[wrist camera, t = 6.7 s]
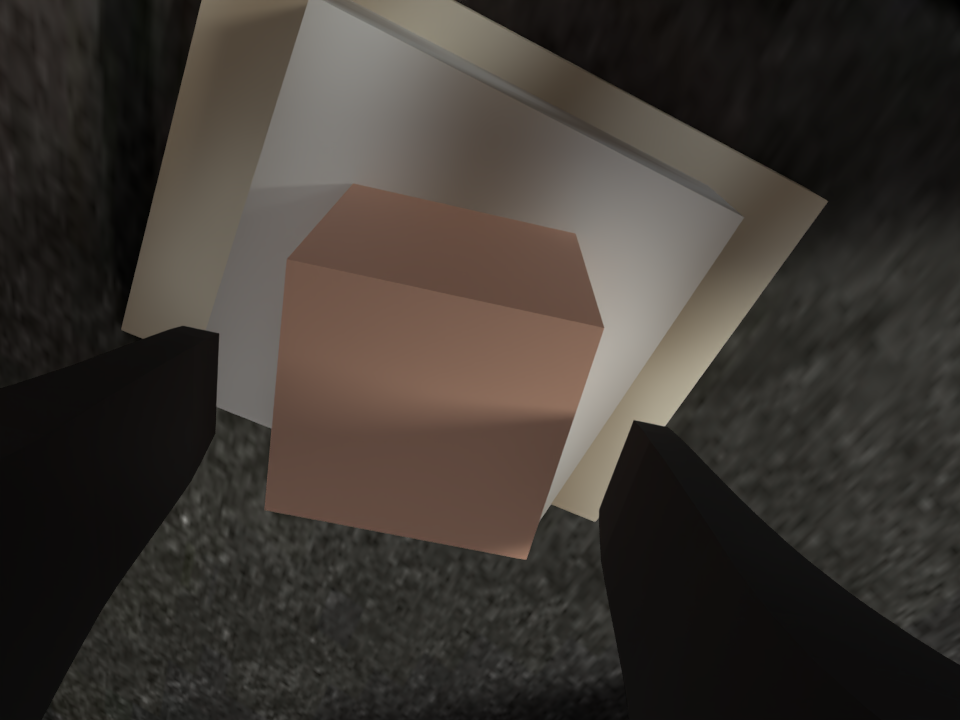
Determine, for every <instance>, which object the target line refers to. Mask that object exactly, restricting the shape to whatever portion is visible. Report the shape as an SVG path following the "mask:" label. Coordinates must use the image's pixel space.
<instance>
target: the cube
mask: <svg viewBox="0 0 960 720" xmlns="http://www.w3.org/2000/svg"><path fill="white" fill-rule="evenodd" d="M603 330H604V325H603V322H602V319H601V315H600V312H599V309H598V306H597V302H596V299H595V296H594V292H593V289H592V286H591V283H590V279H589V276H588V273H587V269H586V266H585V263H584V260H583V256H582V253H581V250H580V246H579V243H578V240H577V237H576V234H575V233H571V232H566V231H562V230H558V229H553V228H549V227H544V226H540V225H535V224H531V223H527V222H522V221H518V220H513V219H509V218H504V217H500V216H496V215H491V214H487V213H482V212H478V211H473V210H469V209H465V208H460V207H456V206H451V205H447V204H442V203H438V202H434V201H429V200H425V199H420V198H416V197H411V196H407V195H403V194H398V193H394V192H389V191H385V190H380V189H376V188H372V187H367V186H363V185H358V184H354V183H353V184H352V185H351V186H350V188H349V189H348V190H347V191H346V192H345V193H344V194H343V196H342V197H341V198H340V199H339V200H338V201H337V202H336V204H335V205H334V206H333V207H332V208H331V209H330V210H329V212H328V213H327V214H326V215H325V216H324V217H323V218H322V220H321V221H320V222H319V223H318V224H317V225H316V226H315V227H314V229H313V230H312V231H311V232H310V233H309V234H308V235H307V237H306V238H305V239H304V240H303V241H302V242H301V243H300V245H299V246H298V247H297V248H296V249H295V250H294V251H293V253H292V254H291V255H290V256H289V257H288V258H287V262H286V273H285V284H284V296H283V307H282V318H281V329H280V341H279V352H278V363H277V375H276V386H275V397H274V408H273V420H272V431H271V442H270V454H269V465H268V476H267V487H266V499H265V510H267V511H272V512H278V513H283V514H288V515H293V516H299V517H304V518H309V519H314V520H320V521H325V522H330V523H335V524H341V525H346V526H351V527H356V528H362V529H367V530H372V531H377V532H383V533H388V534H393V535H398V536H403V537H409V538H414V539H419V540H424V541H430V542H435V543H440V544H445V545H451V546H456V547H461V548H466V549H472V550H477V551H482V552H487V553H493V554H498V555H503V556H508V557H514V558H519V559H524V560H526V559H527V556H528V553H529V550H530V547H531V544H532V541H533V538H534V535H535V532H536V529H537V526H538V523H539V520H540V517H541V514H542V512H543V509H544V506H545V503H546V500H547V497H548V494H549V491H550V488H551V485H552V482H553V479H554V476H555V473H556V470H557V467H558V464H559V461H560V458H561V455H562V452H563V449H564V446H565V443H566V440H567V437H568V434H569V431H570V428H571V425H572V422H573V420H574V417H575V414H576V411H577V408H578V405H579V402H580V399H581V396H582V393H583V390H584V387H585V384H586V381H587V378H588V375H589V372H590V369H591V366H592V363H593V360H594V357H595V354H596V351H597V348H598V345H599V342H600V339H601V336H602V333H603Z"/></svg>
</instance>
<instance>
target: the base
mask: <svg viewBox="0 0 960 720" xmlns="http://www.w3.org/2000/svg"><path fill="white" fill-rule="evenodd" d="M353 183H354V184H358V185H363V186H367V187H372V188H376V189H380V190H385V191H389V192H394V193H398V194H403V195H407V196H411V197H416V198H420V199H425V200H429V201H434V202H438V203H442V204H447V205H451V206H456V207H460V208H465V209H469V210H473V211H478V212H482V213H487V214H491V215H496V216H500V217H504V218H509V219H513V220H518V221H522V222H527V223H531V224H535V225H540V226H544V227H549V228H553V229H558V230H562V231H566V232H571V233H575V234H576V237H577V240H578V243H579V246H580V250H581V253H582V256H583V260H584V263H585V266H586V269H587V273H588V276H589V279H590V283H591V286H592V289H593V292H594V296H595V299H596V302H597V306H598V309H599V312H600V315H601V319H602V322H603V325H604V330H603V333H602V336H601V339H600V342H599V345H598V348H597V351H596V354H595V357H594V360H593V363H592V366H591V369H590V372H589V375H588V378H587V381H586V384H585V387H584V390H583V393H582V396H581V399H580V402H579V405H578V408H577V411H576V414H575V417H574V420H573V422H572V425H571V428H570V431H569V434H568V437H567V440H566V443H565V446H564V449H563V452H562V455H561V458H560V461H559V464H558V467H557V470H556V473H555V476H554V479H553V482H552V485H551V488H550V491H549V494H548V497H547V500H546V503H545V506H544V509H543V512H542V514H541V517H540V520H541V518H542V517H543V515H544V514H545V512H546V511H547V509H548V508H549V506H550V505H551V504H552V505H555V506H557V507H560V508H562V509H565V510H567V511H569V512H572V513H574V514H577V515H579V516H582V517H584V518H587V519H589V520H592V521H594V522H596V520H597V519H598V518H599V508H600V506H601V503H602V500H603V498H604V495H605V493H606V490H607V488H608V485H609V482H610V480H611V477H612V475H613V472H614V470H615V467H616V464H617V462H618V459H619V457H620V454H621V451H622V449H623V446H624V444H625V441H626V439H627V436H628V433H629V431H630V428H631V426H632V423H633V421H634V420H636V421H641V422H646V423H651V424H656V425H660V426H665V425H666V424H667V423H668V421H669V420H670V418H671V417H672V416H673V414H674V413H675V412H676V410H677V409H678V407H679V406H680V405H681V403H682V402H683V401H684V399H685V398H686V396H687V395H688V394H689V392H690V391H691V390H692V388H693V387H694V385H695V384H696V383H697V381H698V380H699V379H700V377H701V376H702V374H703V373H704V372H705V370H706V369H707V368H708V366H709V365H710V363H711V362H712V361H713V359H714V358H715V357H716V355H717V354H718V352H719V351H720V350H721V348H722V347H723V346H724V344H725V343H726V341H727V340H728V339H729V337H730V336H731V335H732V333H733V332H734V330H735V329H736V328H737V326H738V325H739V324H740V322H741V321H742V319H743V318H744V317H745V315H746V314H747V312H748V311H749V310H750V308H751V307H752V306H753V304H754V303H755V301H756V300H757V299H758V297H759V296H760V295H761V293H762V292H763V290H764V289H765V288H766V286H767V285H768V284H769V282H770V281H771V279H772V278H773V277H774V275H775V274H776V273H777V271H778V270H779V268H780V267H781V266H782V264H783V263H784V262H785V260H786V259H787V257H788V256H789V255H790V253H791V252H792V251H793V249H794V248H795V246H796V245H797V244H798V242H799V241H800V240H801V238H802V237H803V235H804V234H805V233H806V231H807V230H808V229H809V227H810V226H811V224H812V223H813V222H814V220H815V219H816V218H817V216H818V215H819V213H820V212H821V211H822V209H823V208H824V206H825V205H826V204H827V202H828V201H827V200H825V199H824V198H822V197H820V196H819V195H817V194H815V193H814V192H812V191H810V190H809V189H807V188H805V187H804V186H802V185H800V184H798V183H796V182H794V181H792V180H790V179H789V178H787V177H785V176H783V175H781V174H779V173H777V172H775V171H774V170H772V169H770V168H768V167H766V166H764V165H762V164H760V163H759V162H757V161H755V160H753V159H751V158H749V157H747V156H745V155H744V154H742V153H740V152H738V151H736V150H734V149H732V148H730V147H729V146H727V145H725V144H723V143H721V142H719V141H717V140H715V139H714V138H712V137H710V136H708V135H706V134H704V133H702V132H700V131H699V130H697V129H695V128H693V127H691V126H689V125H687V124H685V123H684V122H682V121H680V120H678V119H676V118H674V117H672V116H670V115H669V114H667V113H665V112H663V111H661V110H659V109H657V108H656V107H654V106H652V105H650V104H648V103H646V102H644V101H642V100H641V99H639V98H637V97H635V96H633V95H631V94H629V93H627V92H626V91H624V90H622V89H620V88H618V87H616V86H614V85H612V84H611V83H609V82H607V81H605V80H603V79H601V78H599V77H597V76H596V75H594V74H592V73H590V72H588V71H586V70H584V69H582V68H581V67H579V66H577V65H575V64H573V63H571V62H569V61H567V60H566V59H564V58H562V57H560V56H558V55H556V54H554V53H552V52H551V51H549V50H547V49H545V48H543V47H541V46H539V45H537V44H536V43H534V42H532V41H530V40H528V39H526V38H524V37H522V36H521V35H519V34H517V33H515V32H513V31H511V30H509V29H507V28H506V27H504V26H502V25H500V24H498V23H496V22H494V21H492V20H491V19H489V18H487V17H485V16H483V15H481V14H479V13H477V12H476V11H474V10H472V9H470V8H468V7H466V6H464V5H462V4H461V3H459V2H457V1H455V0H202V1H201V5H200V9H199V13H198V18H197V22H196V26H195V30H194V34H193V38H192V42H191V46H190V50H189V54H188V58H187V62H186V67H185V71H184V75H183V79H182V83H181V87H180V91H179V95H178V99H177V103H176V107H175V111H174V116H173V120H172V124H171V128H170V132H169V136H168V140H167V144H166V148H165V152H164V156H163V161H162V165H161V169H160V173H159V177H158V181H157V185H156V189H155V193H154V197H153V201H152V205H151V210H150V214H149V218H148V222H147V226H146V230H145V234H144V238H143V242H142V246H141V250H140V254H139V259H138V263H137V267H136V271H135V275H134V279H133V283H132V287H131V291H130V295H129V299H128V303H127V308H126V312H125V316H124V320H123V324H122V328H121V330H123V331H125V332H128V333H130V334H132V335H135V336H137V337H140V338H142V339H144V338H147V337H149V336H152V335H155V334H158V333H160V332H163V331H166V330H169V329H172V328H176V327H180V326H187V327H192V328H197V329H201V330H206V331H211V332H216V333H219V354H218V379H217V403H216V407H218V408H221V409H223V410H226V411H229V412H231V413H234V414H236V415H239V416H241V417H244V418H246V419H249V420H251V421H254V422H256V423H259V424H261V425H264V426H267V427H269V428H272V420H273V408H274V397H275V386H276V375H277V363H278V352H279V341H280V329H281V318H282V307H283V296H284V284H285V273H286V262H287V258H288V257H289V256H290V255H291V254H292V253H293V251H294V250H295V249H296V248H297V247H298V246H299V245H300V243H301V242H302V241H303V240H304V239H305V238H306V237H307V235H308V234H309V233H310V232H311V231H312V230H313V229H314V227H315V226H316V225H317V224H318V223H319V222H320V221H321V220H322V218H323V217H324V216H325V215H326V214H327V213H328V212H329V210H330V209H331V208H332V207H333V206H334V205H335V204H336V202H337V201H338V200H339V199H340V198H341V197H342V196H343V194H344V193H345V192H346V191H347V190H348V189H349V188H350V186H351V185H352V184H353ZM540 520H539V521H540Z"/></svg>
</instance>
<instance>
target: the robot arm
mask: <svg viewBox="0 0 960 720" xmlns="http://www.w3.org/2000/svg"><path fill="white" fill-rule="evenodd" d="M218 354H219V333H216V332H211V331H206V330H201V329H197V328H192V327H187V326H180V327H176V328H172V329H169V330H166V331H163V332H160V333H158V334H155V335H152V336H149V337H147V338H144V339H141V340H139V341H136V342H133V343H131V344H128V345H126V346H123V347H120V348H118V349H115V350H112V351H110V352H107V353H104V354H102V355H99V356H96V357H94V358H91V359H88V360H86V361H83V362H80V363H77V364H75V365H72V366H68V367H65V368H62V369H59V370H56V371H53V372H50V373H47V374H44V375H41V376H38V377H35V378H32V379H29V380H26V381H23V382H20V383H17V384H14V385H11V386H7V387H4V388H0V720H42V718H43V716H44V714H45V712H46V710H47V709H48V707H49V705H50V703H51V701H52V699H53V697H54V695H55V693H56V692H57V690H58V688H59V686H60V684H61V682H62V680H63V678H64V677H65V675H66V673H67V671H68V669H69V667H70V665H71V664H72V662H73V660H74V658H75V656H76V655H77V653H78V651H79V649H80V648H81V646H82V644H83V642H84V640H85V639H86V637H87V635H88V633H89V631H90V630H91V628H92V626H93V624H94V623H95V621H96V619H97V617H98V615H99V614H100V612H101V610H102V609H103V607H104V606H105V604H106V602H107V601H108V599H109V598H110V596H111V595H112V593H113V592H114V590H115V589H116V587H117V585H118V584H119V583H120V581H121V580H122V578H123V577H124V576H125V574H126V573H127V571H128V570H129V569H130V567H131V566H132V564H133V563H134V562H135V560H136V559H137V557H138V556H139V554H140V553H141V552H142V550H143V549H144V547H145V546H146V545H147V543H148V542H149V540H150V539H151V538H152V536H153V535H154V533H155V532H156V531H157V529H158V528H159V526H160V525H161V524H162V522H163V521H164V519H165V518H166V516H167V515H168V514H169V512H170V511H171V509H172V508H173V506H174V505H175V504H176V502H177V501H178V499H179V498H180V496H181V495H182V494H183V492H184V491H185V489H186V488H187V486H188V485H189V483H190V482H191V480H192V478H193V476H194V474H195V473H196V471H197V469H198V467H199V465H200V463H201V461H202V459H203V457H204V455H205V453H206V451H207V449H208V447H209V445H210V443H211V441H212V439H213V437H214V435H215V427H216V403H217V379H218ZM599 529H600V550H601V563H602V568H603V574H604V580H605V585H606V591H607V596H608V601H609V607H610V612H611V617H612V622H613V627H614V633H615V638H616V643H617V648H618V653H619V658H620V664H621V669H622V674H623V679H624V686H625V693H626V700H627V707H628V719H629V720H960V665H959V664H957V663H955V662H954V661H952V660H950V659H948V658H947V657H945V656H943V655H942V654H940V653H939V652H937V651H935V650H934V649H932V648H931V647H929V646H927V645H926V644H924V643H923V642H921V641H919V640H918V639H916V638H915V637H913V636H912V635H910V634H908V633H907V632H906V631H904V630H903V629H901V628H900V627H898V626H897V625H895V624H894V623H892V622H891V621H889V620H888V619H886V618H885V617H883V616H882V615H880V614H879V613H878V612H876V611H875V610H873V609H872V608H870V607H869V606H867V605H866V604H864V603H863V602H862V601H860V600H859V599H858V598H856V597H855V596H853V595H852V594H851V593H849V592H848V591H847V590H845V589H844V588H843V587H841V586H840V585H839V584H837V583H836V582H835V581H834V580H832V579H831V578H830V577H829V576H827V575H826V574H825V573H823V572H822V571H821V570H820V569H818V568H817V567H816V566H815V565H813V564H812V563H811V562H809V561H808V560H807V559H806V558H805V557H803V556H802V555H801V554H800V553H799V552H797V551H796V550H795V549H794V548H793V547H792V546H790V545H789V544H788V543H787V542H786V541H785V540H784V539H783V538H781V537H780V536H779V535H778V534H777V533H776V532H775V531H774V530H773V529H772V528H770V527H769V526H768V525H767V524H766V523H765V522H764V521H763V520H762V519H761V518H759V517H758V516H757V515H756V514H755V513H754V512H753V511H752V510H751V509H750V508H749V507H748V506H747V505H746V504H745V503H744V502H743V501H742V500H741V499H740V498H739V497H738V496H737V495H736V494H735V493H734V492H733V491H732V490H731V489H730V488H729V487H728V486H727V485H726V484H725V483H724V482H723V481H722V480H721V479H720V478H719V477H718V476H717V475H716V474H715V473H714V472H713V471H712V470H711V469H710V468H709V467H708V466H707V465H706V464H705V463H704V462H703V461H702V460H701V459H700V458H699V456H698V455H697V454H696V453H695V452H694V451H693V450H692V449H691V448H690V447H689V446H688V445H687V444H686V443H685V442H684V441H683V440H682V439H681V438H679V437H678V436H677V435H676V434H675V433H674V432H673V431H672V430H670V429H669V428H668V427H665V426H660V425H656V424H651V423H646V422H641V421H636V420H634V421H633V423H632V426H631V428H630V431H629V433H628V436H627V439H626V441H625V444H624V446H623V449H622V451H621V454H620V457H619V459H618V462H617V464H616V467H615V470H614V472H613V475H612V477H611V480H610V482H609V485H608V488H607V490H606V493H605V495H604V498H603V500H602V503H601V506H600V508H599Z"/></svg>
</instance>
